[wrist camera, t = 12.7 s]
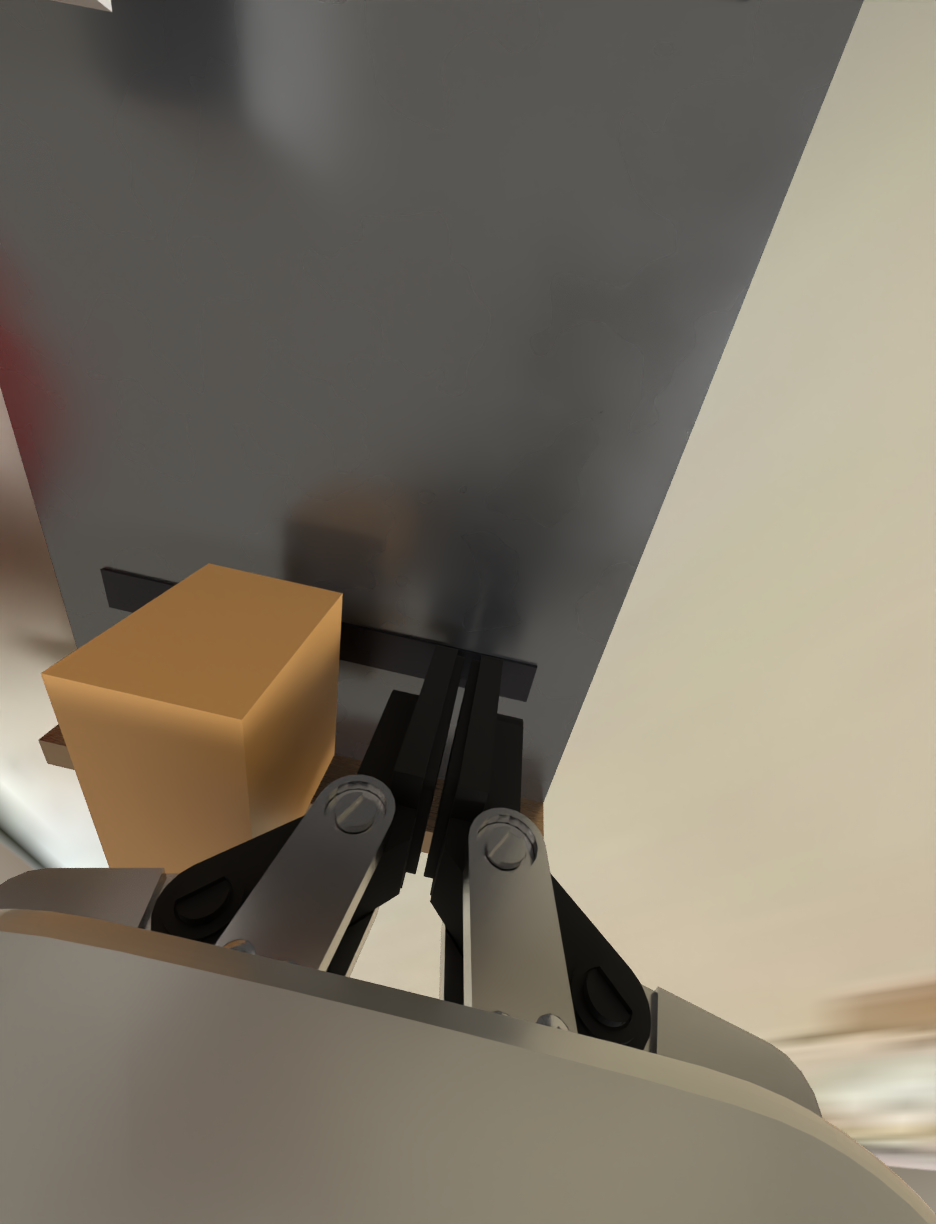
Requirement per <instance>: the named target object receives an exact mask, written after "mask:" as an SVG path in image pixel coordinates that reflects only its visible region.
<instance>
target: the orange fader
mask: <svg viewBox="0 0 936 1224" xmlns="http://www.w3.org/2000/svg"><path fill="white" fill-rule="evenodd" d="M342 596H343V593H339V592H335V591H330V590H326V589H321V588H317V587H312V586H308V585H303V584H299V583H294V582H290V581H285V580H281V579H277V578H272V577H268V576H263V575H259V574H254V573H250V572H245V571H241V570H236V569H232V568H227V567H223V566H219V565H214V564H210V563H208V564H207V565H205V566H204V567H202V568H201V569H199V570H198V571H196V572H195V573H193V574H192V575H190V576H189V577H187V578H186V579H184V580H182V581H181V582H179V583H178V584H176V585H175V586H173V587H172V588H170V589H169V590H167V591H166V592H164V593H163V594H161V595H160V596H158V597H157V598H155V599H153V600H152V601H150V602H149V603H147V604H146V605H144V606H143V607H141V608H140V609H138V610H137V611H135V612H134V613H132V614H131V615H129V616H127V617H126V618H124V619H123V620H121V621H120V622H118V623H117V624H115V625H114V626H112V627H111V628H109V629H108V630H106V631H105V632H103V633H102V634H100V635H98V636H97V637H95V638H94V639H92V640H91V641H89V642H88V643H86V644H85V645H83V646H82V647H80V648H79V649H77V650H76V651H74V652H72V653H71V654H69V655H68V656H66V657H65V658H63V659H62V660H60V661H59V662H57V663H56V664H54V665H53V666H51V667H50V668H48V669H47V670H45V671H43V672H42V673H41V675H42V678H43V681H44V684H45V687H46V690H47V692H48V695H49V698H50V701H51V704H52V707H53V709H54V712H55V715H56V718H57V721H58V724H59V726H60V729H61V732H62V735H63V738H64V741H65V743H66V746H67V749H68V752H69V755H70V758H71V760H72V763H73V766H74V769H75V772H76V775H77V777H78V780H79V783H80V786H81V789H82V791H83V794H84V797H85V800H86V803H87V806H88V808H89V811H90V814H91V817H92V820H93V823H94V825H95V828H96V831H97V834H98V837H99V840H100V842H101V845H102V848H103V851H104V854H105V857H106V859H107V862H108V865H109V868H164V869H165V873H181V872H183V871H184V870H186V869H188V868H190V867H191V866H193V865H195V864H197V863H199V862H202V861H204V860H206V859H208V858H210V857H213V856H215V855H217V854H219V853H222V852H224V851H226V850H228V849H230V848H233V847H235V846H237V845H239V844H242V843H244V842H246V841H248V840H250V839H253V838H255V837H257V836H259V835H262V834H264V833H266V832H268V831H270V830H273V829H275V828H277V827H279V826H282V825H284V824H286V823H288V822H290V821H293V820H295V819H297V818H299V817H302V816H304V814H305V812H306V810H307V808H308V806H309V804H310V802H311V800H312V798H313V796H314V794H315V792H316V790H317V788H318V786H319V784H320V782H321V780H322V778H323V776H324V774H325V772H326V770H327V768H328V766H329V764H330V762H331V760H332V758H333V756H334V753H335V733H336V714H337V694H338V675H339V655H340V635H341V616H342Z"/></svg>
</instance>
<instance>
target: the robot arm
mask: <svg viewBox="0 0 936 1224" xmlns="http://www.w3.org/2000/svg"><path fill="white" fill-rule="evenodd" d="M457 652H458V649H453V648H449V647H445V646H440V645H436V648H435V650H434V653H433V656H432V659H431V662H430V665H429V668H428V671H427V674H426V677H425V680H424V683H423V686H422V689H421V692H420V695H416V694H411V693H407V692H403V691H398V690H393V691H392V693H391V695H390V697H389V699H388V702H387V704H386V706H385V709H384V711H383V713H382V716H381V718H380V721H379V723H378V725H377V728H376V730H375V732H374V735H373V737H372V739H371V742H370V744H369V746H368V749H367V751H366V754H365V756H364V758H363V761H362V763H361V765H360V768H359V770H358V772H357V775H348V776H345V777H341V778H338V779H337V780H335V781H333V782H332V783H330V784H328V785H327V787H326V788H325V789H324V790H323V791H322V792H321V793H320V794H319V796H318V797H317V799H316V800H315V802H314V803H313V804H312V806H311V807H310V809H309V810H308V812H307V813H306V814H305V815H304V816H302V817H299V818H297V819H295V820H293V821H290V822H288V823H286V824H284V825H282V826H279V827H277V828H275V829H273V830H270V831H268V832H266V833H264V834H262V835H259V836H257V837H255V838H253V839H250V840H248V841H246V842H244V843H242V844H239V845H237V846H235V847H233V848H230V849H228V850H226V851H224V852H222V853H219V854H217V855H215V856H213V857H210V858H208V859H206V860H204V861H202V862H199V863H197V864H195V865H193V866H191V867H190V868H188V869H186V870H184V871H183V872H181V873H165V869H164V868H45V869H38V870H32V871H27V872H25V873H23V874H20V875H18V876H15V877H13V878H10V879H8V880H7V881H5V882H4V883H2V884H1V885H0V1224H936V1214H935V1213H934V1212H933V1211H932V1209H931V1208H930V1207H929V1206H928V1205H927V1204H926V1203H925V1202H924V1201H923V1200H922V1198H921V1197H920V1196H919V1195H918V1194H917V1193H916V1192H915V1191H914V1190H913V1189H912V1188H911V1187H910V1186H909V1185H908V1184H906V1183H905V1182H904V1181H903V1180H902V1179H901V1178H900V1177H899V1176H898V1175H897V1174H896V1173H894V1172H893V1171H892V1170H891V1169H890V1168H889V1167H888V1166H886V1165H885V1164H884V1163H883V1162H882V1161H881V1160H879V1159H878V1158H877V1157H876V1156H875V1155H873V1154H872V1153H871V1152H870V1151H868V1150H867V1149H866V1148H864V1147H863V1146H862V1145H860V1144H859V1143H858V1142H856V1141H855V1140H854V1139H852V1138H851V1137H850V1136H849V1135H847V1134H846V1133H845V1132H843V1131H842V1130H840V1129H839V1128H837V1127H835V1126H834V1125H832V1124H831V1123H829V1122H828V1121H826V1120H824V1119H823V1118H822V1115H821V1112H820V1109H819V1106H818V1103H817V1100H816V1097H815V1094H814V1092H813V1090H812V1089H811V1087H810V1085H809V1084H808V1082H807V1080H806V1079H805V1077H804V1075H803V1074H802V1072H801V1071H800V1070H799V1069H798V1067H797V1066H796V1065H795V1064H794V1063H793V1062H792V1061H791V1060H790V1058H789V1057H788V1056H787V1055H786V1054H784V1053H783V1052H782V1051H780V1050H779V1049H777V1048H776V1047H775V1046H773V1045H772V1044H770V1043H768V1042H766V1041H765V1040H763V1039H761V1038H759V1037H757V1036H755V1035H753V1034H751V1033H749V1032H747V1031H745V1030H743V1029H741V1028H739V1027H737V1026H735V1025H733V1024H731V1023H729V1022H727V1021H725V1020H723V1019H721V1018H719V1017H717V1016H715V1015H713V1014H711V1013H709V1012H707V1011H705V1010H703V1009H702V1008H700V1007H698V1006H696V1005H694V1004H692V1003H690V1002H688V1001H686V1000H684V999H682V998H680V997H678V996H676V995H674V994H672V993H670V992H668V991H666V990H664V989H662V988H660V987H657V989H656V990H655V991H653V990H651V989H649V988H648V987H646V986H644V985H642V984H641V983H640V982H639V980H638V979H637V977H636V976H635V974H634V973H633V971H632V970H631V969H630V968H629V966H628V965H627V964H626V963H625V962H624V960H623V959H622V958H621V957H620V956H619V954H618V953H617V952H616V951H615V950H614V948H613V947H612V946H611V945H610V944H609V942H608V941H607V940H606V939H605V938H604V937H603V935H602V934H601V933H600V932H599V931H598V929H597V928H596V927H595V926H594V925H593V923H592V922H591V921H590V920H589V919H588V917H587V916H586V915H585V914H584V913H583V911H582V910H581V909H580V908H579V907H578V906H577V904H576V903H575V902H574V901H573V900H572V898H571V897H570V896H569V895H568V894H567V892H566V891H565V890H564V889H563V888H562V886H561V885H560V884H559V883H558V882H557V880H556V879H555V878H554V877H553V876H552V875H551V873H550V868H549V863H548V857H547V851H546V845H545V842H544V839H543V836H542V834H541V832H540V831H539V829H538V828H537V826H536V825H535V824H534V823H533V822H532V821H531V820H530V819H529V818H528V817H526V816H525V815H523V814H521V813H520V806H521V780H522V753H523V719H520V718H516V717H511V716H507V715H503V714H498V713H497V711H498V702H499V693H500V684H501V675H502V666H503V660H502V659H497V658H493V657H489V656H484V655H481V659H480V660H475V659H472V660H471V665H470V669H469V673H468V678H467V682H466V686H465V691H464V695H463V699H462V704H461V708H460V712H459V716H458V721H457V725H456V729H455V734H454V738H453V743H452V747H451V752H450V756H449V761H448V765H447V770H446V775H445V779H444V784H443V789H442V793H441V798H440V803H439V807H438V812H437V816H436V821H435V826H434V830H433V835H432V840H431V844H430V849H429V854H428V858H427V863H426V867H425V872H424V876H425V877H429V878H433V882H432V887H431V893H430V895H431V900H430V902H431V903H432V905H433V907H434V908H435V910H436V911H437V913H438V915H439V916H440V918H441V919H442V921H443V922H442V928H441V952H440V988H439V999H436V998H432V997H428V996H424V995H419V994H415V993H411V992H407V991H403V990H399V989H395V988H391V987H387V986H382V985H378V984H374V983H370V982H366V981H362V980H358V979H354V978H350V975H351V973H352V971H353V968H354V966H355V964H356V962H357V959H358V957H359V955H360V952H361V950H362V948H363V946H364V943H365V941H366V939H367V937H368V934H369V932H370V930H371V927H372V925H373V923H374V921H375V918H376V916H377V913H378V910H379V906H381V905H382V904H384V903H385V902H387V901H389V900H390V899H392V898H393V897H395V896H397V895H398V894H399V892H400V888H402V885H403V881H404V877H405V873H406V872H408V873H412V874H416V870H417V866H418V862H419V857H420V853H421V849H422V844H423V840H424V836H425V831H426V827H427V823H428V818H429V814H430V810H431V805H432V801H433V797H434V793H435V788H436V784H437V780H438V775H439V771H440V767H441V762H442V758H443V754H444V749H445V745H446V741H447V736H448V732H449V727H450V723H451V718H452V714H453V709H454V705H455V700H456V696H457V691H458V687H459V682H460V678H461V673H462V669H463V664H464V660H465V657H462V656H458V655H457Z"/></svg>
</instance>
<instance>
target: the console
mask: <svg viewBox="0 0 936 1224" xmlns="http://www.w3.org/2000/svg"><path fill="white" fill-rule="evenodd" d="M863 1H864V0H111V6H112V12H109V11H103V10H98V9H93V8H88V7H83V6H78V5H73V4H68V3H63V2H58V1H53V0H0V387H1V390H2V394H3V397H4V401H5V404H6V407H7V411H8V414H9V418H10V421H11V424H12V428H13V431H14V435H15V438H16V441H17V445H18V448H19V452H20V455H21V458H22V462H23V465H24V469H25V472H26V475H27V479H28V482H29V486H30V489H31V492H32V496H33V499H34V503H35V506H36V509H37V513H38V516H39V520H40V523H41V526H42V530H43V533H44V537H45V540H46V543H47V547H48V550H49V554H50V557H51V560H52V564H53V567H54V571H55V574H56V578H57V581H58V584H59V588H60V591H61V595H62V598H63V601H64V605H65V608H66V612H67V615H68V618H69V622H70V625H71V629H72V632H73V635H74V639H75V642H76V646H77V649H79V648H80V647H82V646H83V645H85V644H86V643H88V642H89V641H91V640H92V639H94V638H95V637H97V636H98V635H100V634H102V633H103V632H105V631H106V630H108V629H109V628H111V627H112V626H114V625H115V624H117V623H118V622H120V621H121V620H123V619H124V618H126V617H127V616H129V615H131V614H132V613H134V612H135V611H137V610H138V609H140V608H141V607H143V606H144V605H146V604H147V603H149V602H150V601H152V600H153V599H155V598H157V597H158V596H160V595H161V594H163V593H164V592H166V591H167V590H169V589H170V588H172V587H173V586H175V585H176V584H178V583H179V582H181V581H182V580H184V579H186V578H187V577H189V576H190V575H192V574H193V573H195V572H196V571H198V570H199V569H201V568H202V567H204V566H205V565H207V564H208V563H210V564H214V565H219V566H223V567H227V568H232V569H236V570H241V571H245V572H250V573H254V574H259V575H263V576H268V577H272V578H277V579H281V580H285V581H290V582H294V583H299V584H303V585H308V586H312V587H317V588H321V589H326V590H330V591H335V592H339V593H343V596H342V616H341V635H340V655H339V675H338V694H337V714H336V733H335V753H334V756H333V758H332V760H331V762H330V764H329V766H328V768H327V770H326V772H325V774H324V776H323V778H322V780H321V782H320V784H319V786H318V788H317V790H316V792H315V794H314V796H313V798H312V800H311V802H310V804H309V806H308V808H307V810H306V812H305V814H306V813H307V812H308V810H309V809H310V807H311V806H312V804H313V803H314V802H315V800H316V799H317V797H318V796H319V794H320V793H321V792H322V791H323V790H324V789H325V788H326V787H327V785H328V784H330V783H332V782H333V781H335V780H337V779H338V778H341V777H345V776H348V775H357V772H358V770H359V768H360V765H361V763H362V761H363V758H364V756H365V754H366V751H367V749H368V746H369V744H370V742H371V739H372V737H373V735H374V732H375V730H376V728H377V725H378V723H379V721H380V718H381V716H382V713H383V711H384V709H385V706H386V704H387V702H388V699H389V697H390V695H391V693H392V691H393V690H398V691H403V692H407V693H411V694H416V695H420V692H421V689H422V686H423V683H424V680H425V677H426V674H427V671H428V668H429V665H430V662H431V659H432V656H433V653H434V650H435V648H436V645H440V646H445V647H449V648H453V649H458V652H457V655H458V656H462V657H465V660H464V664H463V669H462V673H461V678H460V682H459V687H458V691H457V696H456V700H455V705H454V709H453V714H452V718H451V723H450V727H449V732H448V736H447V741H446V745H445V749H444V754H443V758H442V762H441V767H440V771H439V775H438V780H437V784H436V788H435V793H434V797H433V801H432V805H431V810H430V814H429V818H428V823H427V827H426V831H425V836H424V840H423V844H422V849H421V852H424V853H429V849H430V844H431V840H432V835H433V830H434V826H435V821H436V816H437V812H438V807H439V803H440V798H441V793H442V789H443V784H444V779H445V775H446V770H447V765H448V761H449V756H450V752H451V747H452V743H453V738H454V734H455V729H456V725H457V721H458V716H459V712H460V708H461V704H462V699H463V695H464V691H465V686H466V682H467V678H468V673H469V669H470V665H471V660H472V659H475V660H480V659H481V655H484V656H489V657H493V658H497V659H502V660H503V666H502V675H501V684H500V693H499V702H498V711H497V713H498V714H503V715H507V716H511V717H516V718H520V719H523V753H522V780H521V806H520V813H521V814H523V815H525V816H526V817H528V818H529V819H530V820H531V821H532V822H533V823H534V824H535V825H536V826H537V828H538V829H539V831H540V832H541V834H542V836H543V839H544V832H543V802H544V799H545V797H546V794H547V792H548V789H549V787H550V784H551V782H552V779H553V777H554V774H555V772H556V769H557V767H558V764H559V762H560V759H561V757H562V754H563V752H564V749H565V747H566V744H567V742H568V739H569V737H570V734H571V732H572V729H573V727H574V724H575V722H576V719H577V717H578V714H579V712H580V709H581V707H582V704H583V702H584V699H585V697H586V694H587V692H588V689H589V687H590V684H591V682H592V679H593V677H594V674H595V672H596V669H597V667H598V664H599V662H600V659H601V657H602V654H603V652H604V649H605V647H606V644H607V642H608V639H609V637H610V634H611V632H612V629H613V627H614V624H615V622H616V619H617V617H618V614H619V612H620V609H621V607H622V604H623V602H624V599H625V597H626V594H627V592H628V589H629V587H630V584H631V582H632V579H633V577H634V574H635V572H636V569H637V567H638V564H639V562H640V559H641V557H642V554H643V552H644V549H645V547H646V544H647V542H648V539H649V537H650V534H651V531H652V529H653V526H654V524H655V521H656V519H657V516H658V514H659V511H660V509H661V506H662V504H663V501H664V499H665V496H666V494H667V491H668V489H669V486H670V484H671V481H672V479H673V476H674V474H675V471H676V469H677V466H678V464H679V461H680V459H681V456H682V454H683V451H684V449H685V446H686V444H687V441H688V439H689V436H690V434H691V431H692V429H693V426H694V424H695V421H696V419H697V416H698V414H699V411H700V409H701V406H702V404H703V401H704V399H705V396H706V394H707V391H708V389H709V386H710V384H711V381H712V379H713V376H714V374H715V371H716V369H717V366H718V364H719V361H720V359H721V356H722V354H723V351H724V349H725V346H726V344H727V341H728V339H729V336H730V334H731V331H732V329H733V326H734V324H735V321H736V319H737V316H738V314H739V311H740V309H741V306H742V304H743V301H744V299H745V296H746V294H747V291H748V289H749V286H750V284H751V281H752V279H753V276H754V274H755V271H756V269H757V266H758V264H759V261H760V258H761V256H762V253H763V251H764V248H765V246H766V243H767V241H768V238H769V236H770V233H771V231H772V228H773V226H774V223H775V221H776V218H777V216H778V213H779V211H780V208H781V206H782V203H783V201H784V198H785V196H786V193H787V191H788V188H789V186H790V183H791V181H792V178H793V176H794V173H795V171H796V168H797V166H798V163H799V161H800V158H801V156H802V153H803V151H804V148H805V146H806V143H807V141H808V138H809V136H810V133H811V131H812V128H813V126H814V123H815V121H816V118H817V116H818V113H819V111H820V108H821V106H822V103H823V101H824V98H825V96H826V93H827V91H828V88H829V86H830V83H831V81H832V78H833V76H834V73H835V71H836V68H837V66H838V63H839V61H840V58H841V56H842V53H843V51H844V48H845V46H846V43H847V41H848V38H849V36H850V33H851V31H852V28H853V26H854V23H855V21H856V18H857V16H858V13H859V11H860V8H861V6H862V3H863ZM39 743H40V745H41V748H42V750H43V753H44V756H45V758H46V761H47V763H48V764H52V765H56V766H60V767H64V768H69V769H73V770H75V769H74V766H73V763H72V760H71V758H70V755H69V752H68V749H67V746H66V743H65V741H64V738H63V735H62V732H61V729H60V726H59V724H58V725H57V726H56V727H54V728H53V729H52V730H50V731H49V732H48V733H47V734H45V735H44V736H43V737H42V738H40V739H39ZM305 814H304V815H305Z"/></svg>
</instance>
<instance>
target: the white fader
mask: <svg viewBox="0 0 936 1224" xmlns="http://www.w3.org/2000/svg"><path fill="white" fill-rule="evenodd" d="M53 1H58V2H63V3H68V4H73V5H78V6H83V7H88V8H93V9H98V10H103V11H109V12H112V6H111V0H53Z"/></svg>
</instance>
